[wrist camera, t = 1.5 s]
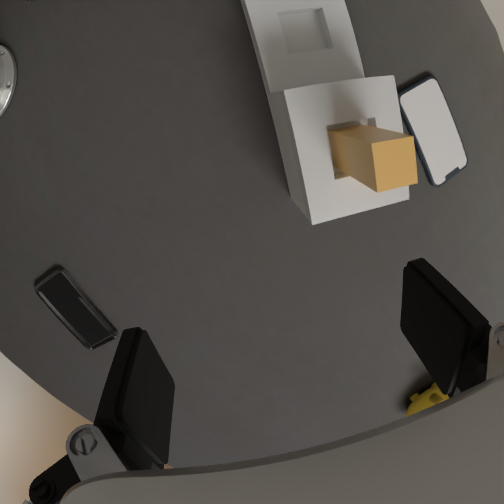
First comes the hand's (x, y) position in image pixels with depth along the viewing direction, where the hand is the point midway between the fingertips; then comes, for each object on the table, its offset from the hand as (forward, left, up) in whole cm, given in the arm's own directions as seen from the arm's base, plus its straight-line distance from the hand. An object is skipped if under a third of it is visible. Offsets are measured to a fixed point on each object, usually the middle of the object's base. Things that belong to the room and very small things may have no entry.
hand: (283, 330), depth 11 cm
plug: (0, +12, -24) cm, 27 cm away
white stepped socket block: (-7, +12, -32) cm, 35 cm away
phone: (+15, -31, -32) cm, 47 cm away
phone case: (+2, +30, -32) cm, 44 cm away
